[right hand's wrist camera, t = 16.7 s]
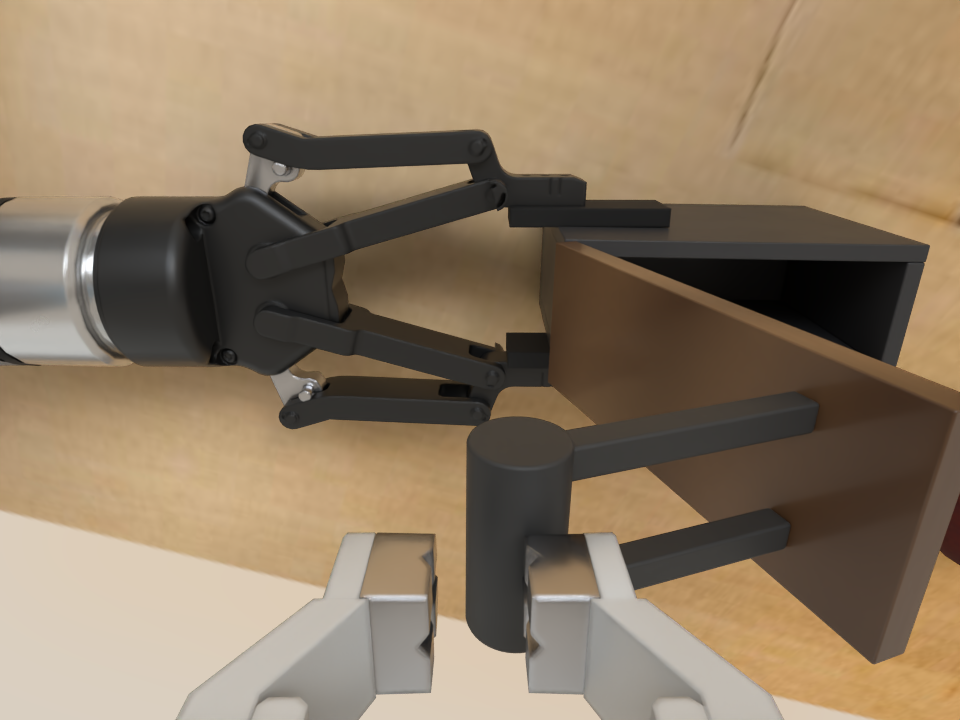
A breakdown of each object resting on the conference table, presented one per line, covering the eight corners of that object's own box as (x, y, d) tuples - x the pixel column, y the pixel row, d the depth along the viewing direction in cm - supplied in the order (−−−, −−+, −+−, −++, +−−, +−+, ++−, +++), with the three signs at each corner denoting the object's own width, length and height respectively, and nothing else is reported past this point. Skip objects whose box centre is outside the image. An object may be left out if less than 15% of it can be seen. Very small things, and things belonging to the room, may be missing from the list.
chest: (804, 205, 32) (931, 245, 23) (784, 308, 34) (892, 382, 25) (544, 201, 33) (564, 238, 23) (539, 304, 35) (555, 376, 25)
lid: (992, 403, 10) (544, 496, 8) (904, 654, 12) (526, 797, 10) (576, 241, 23) (350, 255, 20) (566, 379, 25) (359, 408, 22)
